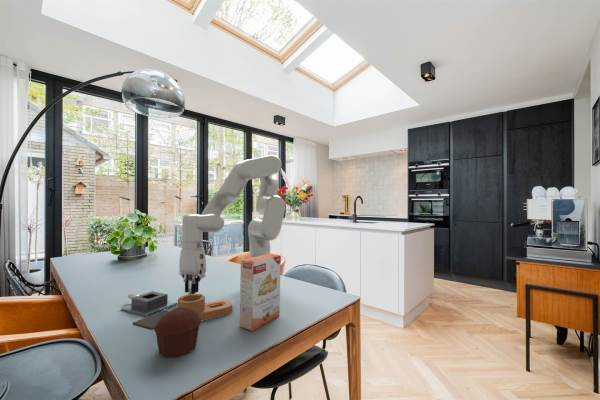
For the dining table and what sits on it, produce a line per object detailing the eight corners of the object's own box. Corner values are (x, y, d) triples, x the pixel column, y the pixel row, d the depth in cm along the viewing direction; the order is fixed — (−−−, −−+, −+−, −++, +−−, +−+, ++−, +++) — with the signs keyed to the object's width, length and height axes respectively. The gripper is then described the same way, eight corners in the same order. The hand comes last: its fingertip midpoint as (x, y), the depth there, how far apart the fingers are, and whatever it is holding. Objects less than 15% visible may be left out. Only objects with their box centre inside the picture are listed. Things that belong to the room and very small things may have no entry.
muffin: (167, 337, 76) (168, 302, 76) (206, 337, 76) (207, 302, 76) (144, 362, 64) (144, 320, 64) (190, 362, 64) (191, 320, 64)
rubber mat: (182, 315, 90) (182, 314, 90) (152, 329, 80) (152, 328, 80) (163, 311, 94) (163, 310, 94) (132, 323, 84) (132, 322, 84)
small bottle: (197, 299, 106) (197, 274, 106) (191, 301, 103) (191, 275, 103) (191, 298, 107) (192, 273, 107) (185, 300, 104) (185, 274, 105)
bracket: (181, 327, 83) (181, 304, 83) (175, 317, 89) (175, 297, 89) (235, 313, 93) (236, 293, 94) (226, 305, 100) (227, 287, 100)
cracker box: (253, 332, 79) (254, 261, 80) (238, 327, 82) (239, 259, 83) (281, 316, 91) (281, 254, 91) (267, 312, 94) (267, 252, 95)
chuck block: (177, 304, 100) (177, 293, 100) (147, 316, 89) (148, 304, 89) (144, 297, 107) (144, 287, 107) (113, 308, 96) (113, 296, 96)
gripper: (215, 245, 106) (214, 292, 106) (184, 242, 112) (184, 286, 112) (201, 248, 99) (200, 298, 99) (169, 245, 105) (168, 292, 105)
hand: (191, 291), depth 105 cm, fingers closed on small bottle, 2 cm apart
